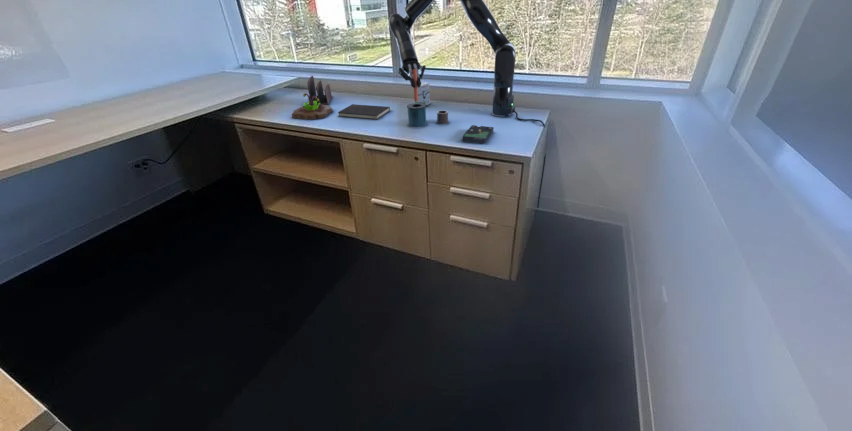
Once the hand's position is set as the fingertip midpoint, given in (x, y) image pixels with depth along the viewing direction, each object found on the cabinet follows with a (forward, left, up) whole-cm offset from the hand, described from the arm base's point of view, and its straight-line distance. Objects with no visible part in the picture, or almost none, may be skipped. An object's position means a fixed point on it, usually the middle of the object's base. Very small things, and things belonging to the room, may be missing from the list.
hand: (416, 86), depth 172 cm
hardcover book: (+38, -2, -19) cm, 43 cm away
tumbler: (+2, -1, -19) cm, 19 cm away
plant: (+63, +13, -19) cm, 67 cm away
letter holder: (+79, -7, -19) cm, 82 cm away
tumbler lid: (+2, -1, -10) cm, 10 cm away
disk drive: (-32, -2, -19) cm, 37 cm away
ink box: (+20, -30, -19) cm, 41 cm away
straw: (+2, -1, -7) cm, 7 cm away
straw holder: (-7, -10, -19) cm, 22 cm away
